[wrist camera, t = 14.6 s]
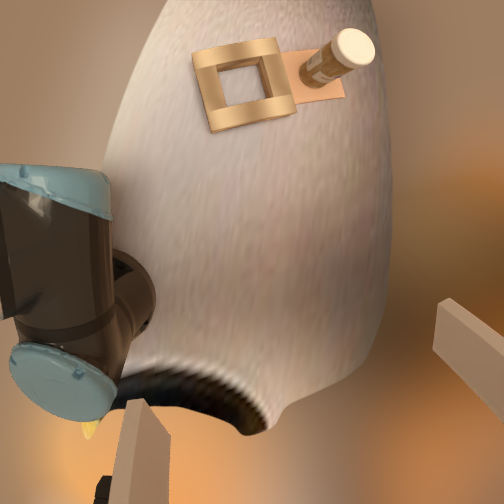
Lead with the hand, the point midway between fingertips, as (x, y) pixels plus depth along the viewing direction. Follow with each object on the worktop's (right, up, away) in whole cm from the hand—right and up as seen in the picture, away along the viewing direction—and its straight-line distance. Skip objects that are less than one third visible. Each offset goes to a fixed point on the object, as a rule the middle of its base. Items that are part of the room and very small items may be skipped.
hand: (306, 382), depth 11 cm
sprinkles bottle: (+6, +30, +25) cm, 40 cm away
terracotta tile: (+6, +31, +26) cm, 40 cm away
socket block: (-4, +28, +25) cm, 37 cm away
